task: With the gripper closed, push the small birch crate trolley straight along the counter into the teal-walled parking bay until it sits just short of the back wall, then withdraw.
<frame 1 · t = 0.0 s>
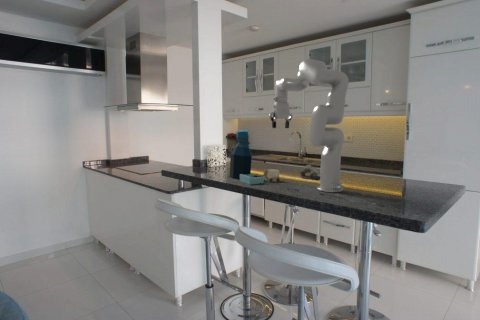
hand: (280, 128, 191), 31 cm above the breakfast bar, tool pointing down, fingers open, 9 cm apart
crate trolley: (271, 180, 181), on the breakfast bar
futuristic pistol: (312, 179, 187), on the breakfast bar
bay: (252, 182, 175), on the breakfast bar
dark teal bottle: (240, 176, 195), on the breakfast bar
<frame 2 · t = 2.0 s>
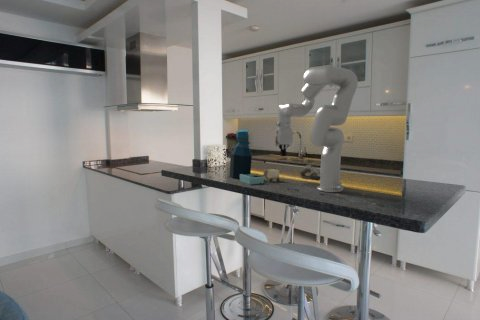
hand: (283, 155, 184), 14 cm above the breakfast bar, tool pointing down, fingers closed
nothing on the breakfast bar moved.
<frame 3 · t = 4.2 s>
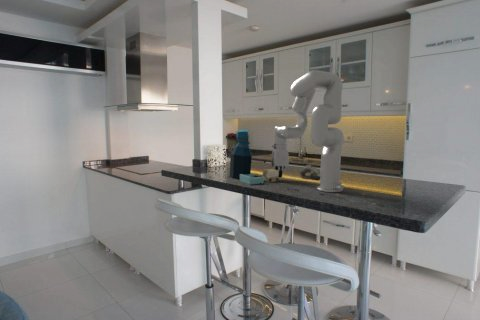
hand: (279, 177, 183), 2 cm above the breakfast bar, tool pointing down, fingers closed
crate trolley: (270, 180, 181), on the breakfast bar, touching gripper
everything else where it was.
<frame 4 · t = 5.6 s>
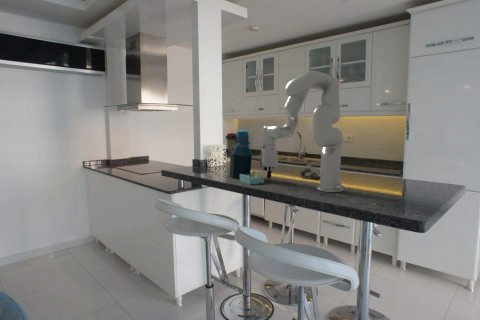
hand: (268, 177, 180), 2 cm above the breakfast bar, tool pointing down, fingers closed
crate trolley: (259, 181, 177), on the breakfast bar, touching gripper
everything else where it was.
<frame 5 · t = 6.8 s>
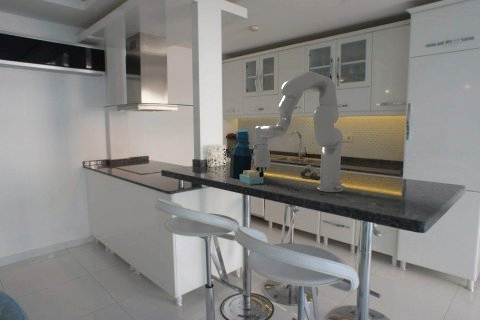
hand: (260, 178, 178), 2 cm above the breakfast bar, tool pointing down, fingers closed
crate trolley: (251, 182, 175), on the breakfast bar, touching bay, gripper
everything else where it was.
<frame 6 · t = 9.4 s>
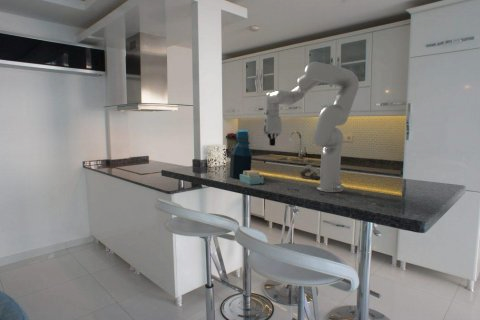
hand: (272, 145, 178), 21 cm above the breakfast bar, tool pointing down, fingers closed
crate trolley: (251, 182, 175), on the breakfast bar
everything else where it was.
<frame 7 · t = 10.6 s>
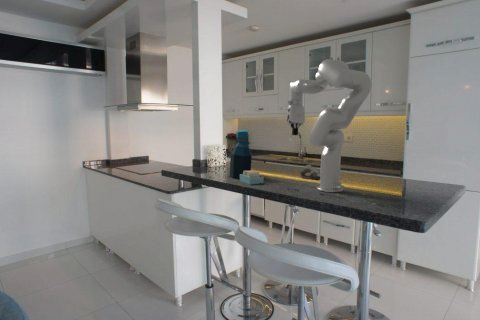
hand: (295, 135, 178), 27 cm above the breakfast bar, tool pointing down, fingers closed
nothing on the breakfast bar moved.
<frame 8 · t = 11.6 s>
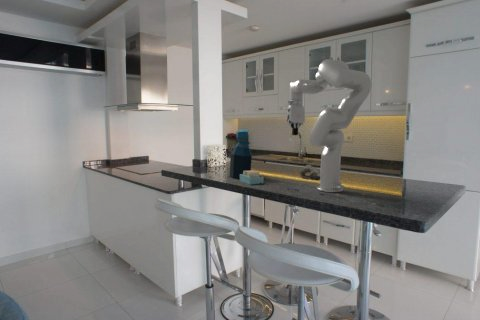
hand: (295, 135, 178), 27 cm above the breakfast bar, tool pointing down, fingers closed
nothing on the breakfast bar moved.
at the end: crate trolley 1.0 cm off-centre on the bay, point 0.0 cm above the bay's base; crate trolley tilted 0°; the gripper is holding nothing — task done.
